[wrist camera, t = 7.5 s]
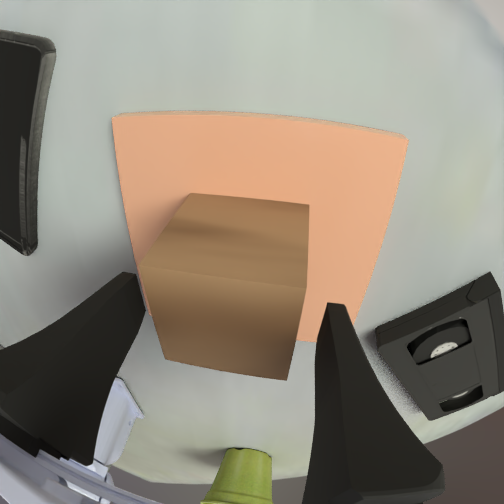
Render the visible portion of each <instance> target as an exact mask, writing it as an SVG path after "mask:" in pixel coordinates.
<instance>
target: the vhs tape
mask: <svg viewBox="0 0 504 504" xmlns="http://www.w3.org/2000/svg"><path fill="white" fill-rule="evenodd" d="M376 339H377V349H378V352H379V353H380V355H381V356H382V357H383V359H384V360H385V361H386V363H387V364H388V365H389V367H390V368H391V369H392V371H393V372H394V373H395V375H396V376H397V377H398V379H399V380H400V381H401V383H402V384H403V386H404V387H405V388H406V390H407V391H408V392H409V394H410V395H411V396H412V398H413V399H414V401H415V402H416V403H417V405H418V406H419V408H420V409H421V410H422V412H423V413H424V415H425V416H426V417H427V419H428V420H435V419H438V418H440V417H443V416H446V415H449V414H451V413H454V412H456V411H459V410H461V409H464V408H466V407H469V406H471V405H473V404H476V403H478V402H480V401H483V400H485V399H487V398H488V397H490V396H495V395H497V394H499V393H501V392H503V391H504V312H503V305H502V297H501V291H500V288H499V287H498V285H497V283H496V281H495V279H494V277H493V276H492V274H491V272H488V273H487V274H485V275H483V276H481V277H479V278H478V279H477V280H476V281H475V280H474V281H472V282H470V283H468V284H467V285H465V286H463V287H461V288H459V289H457V290H455V291H453V292H451V293H449V294H447V295H445V296H443V297H441V298H439V299H437V300H435V301H433V302H431V303H429V304H427V305H425V306H423V307H421V308H418V309H416V310H414V311H412V312H410V313H408V314H405V315H403V316H401V317H399V318H396V319H394V320H392V321H389V322H387V323H385V324H382V325H380V326H378V327H377V328H376ZM409 343H410V348H411V354H412V356H411V354H410V353H409V351H408V349H407V345H408V344H409ZM445 400H447V401H445ZM442 401H445V402H442ZM440 402H442V403H440Z"/></svg>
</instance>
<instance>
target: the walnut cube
mask: <svg viewBox="0 0 504 504" xmlns="http://www.w3.org/2000/svg"><path fill="white" fill-rule="evenodd" d="M308 245H309V205H308V204H300V203H292V202H283V201H274V200H265V199H255V198H245V197H234V196H223V195H212V194H199V193H190V194H189V196H188V197H187V198H186V200H185V201H184V202H183V204H182V205H181V206H180V208H179V209H178V210H177V212H176V213H175V214H174V216H173V217H172V218H171V220H170V221H169V223H168V224H167V225H166V227H165V228H164V229H163V231H162V232H161V234H160V235H159V236H158V238H157V239H156V241H155V242H154V243H153V245H152V246H151V248H150V249H149V251H148V252H147V253H146V255H145V256H144V258H143V259H142V261H141V262H140V264H139V269H140V273H141V277H142V281H143V285H144V289H145V292H146V296H147V300H148V304H149V307H150V311H151V314H152V318H153V321H154V325H155V328H156V331H157V335H158V338H159V341H160V344H161V348H162V351H163V354H164V357H165V359H167V360H171V361H176V362H180V363H185V364H189V365H194V366H199V367H204V368H209V369H214V370H220V371H225V372H231V373H237V374H243V375H249V376H256V377H263V378H270V379H277V380H285V381H287V377H288V373H289V369H290V364H291V360H292V356H293V351H294V347H295V342H296V338H297V333H298V328H299V324H300V319H301V314H302V309H303V304H304V299H305V294H306V289H307V270H308Z"/></svg>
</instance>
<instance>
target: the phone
mask: <svg viewBox="0 0 504 504" xmlns="http://www.w3.org/2000/svg"><path fill="white" fill-rule="evenodd" d="M55 61H56V49H55V46H54V43H53V42H52V41H51V40H50V39H48V38H45V37H40V36H35V35H30V34H25V33H19V32H13V31H6V30H0V239H1V240H3V241H4V242H6V243H7V244H8V245H10V246H11V247H12V248H14V249H15V250H17V251H18V252H20V253H21V254H23V255H25V256H29V255H30V254H31V253H32V252H33V251H34V250H35V249H36V248H37V245H38V238H37V191H38V171H39V158H40V147H41V138H42V130H43V123H44V116H45V110H46V104H47V98H48V93H49V88H50V83H51V79H52V74H53V70H54V66H55Z"/></svg>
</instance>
